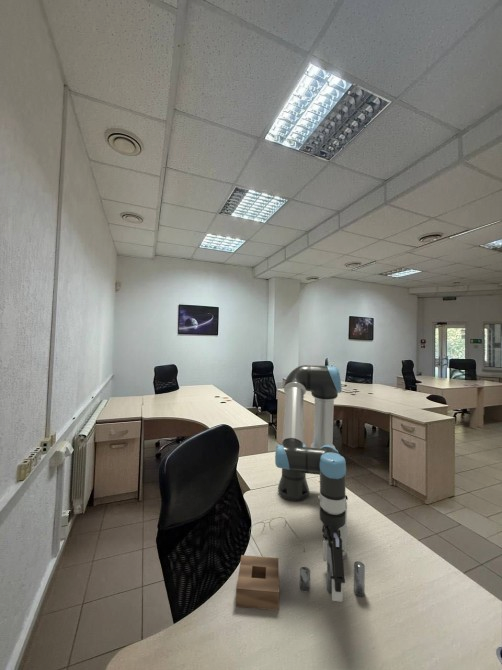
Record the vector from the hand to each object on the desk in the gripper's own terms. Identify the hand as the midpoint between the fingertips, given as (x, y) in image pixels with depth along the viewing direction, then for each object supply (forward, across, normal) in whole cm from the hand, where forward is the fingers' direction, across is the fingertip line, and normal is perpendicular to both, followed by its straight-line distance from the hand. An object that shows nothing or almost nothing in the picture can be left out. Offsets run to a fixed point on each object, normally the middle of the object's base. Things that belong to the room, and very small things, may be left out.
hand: (331, 578), depth 83 cm
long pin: (+3, 0, 0) cm, 3 cm away
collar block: (+3, +2, -22) cm, 22 cm away
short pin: (+3, 0, -8) cm, 9 cm away
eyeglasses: (+4, -17, -17) cm, 24 cm away
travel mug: (+3, -15, +5) cm, 16 cm away
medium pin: (+3, 0, +8) cm, 9 cm away
